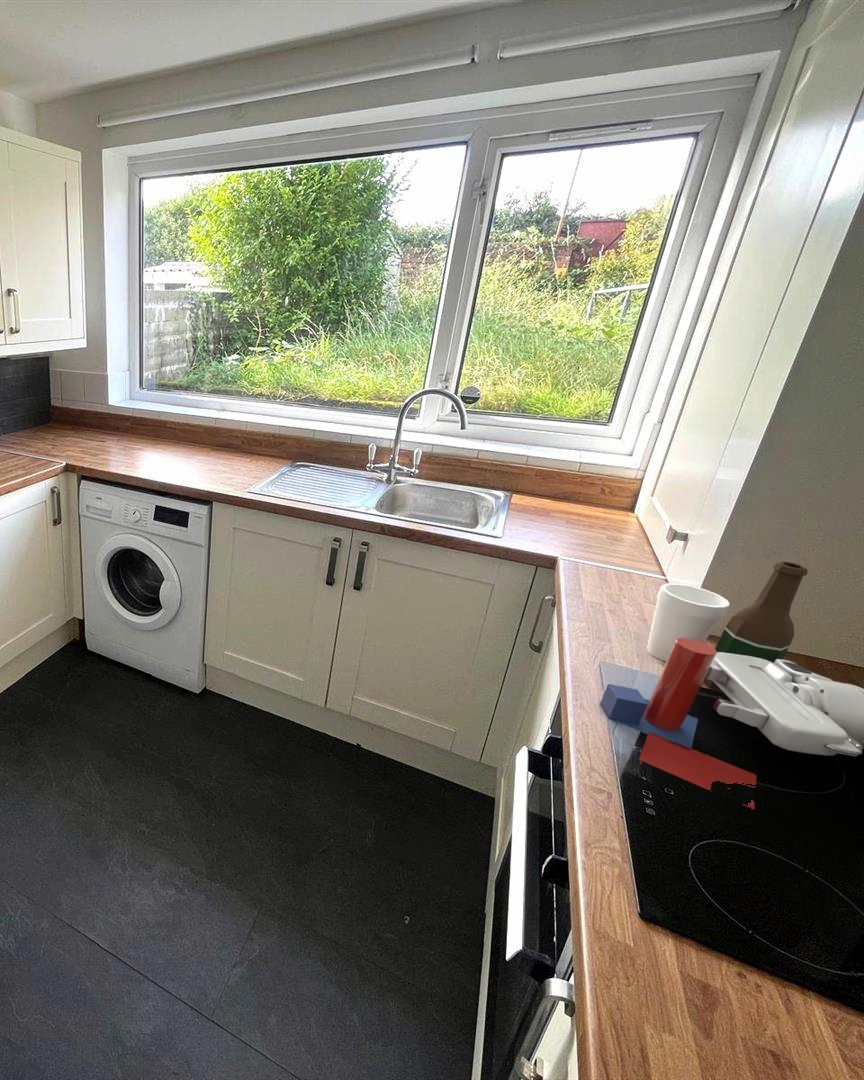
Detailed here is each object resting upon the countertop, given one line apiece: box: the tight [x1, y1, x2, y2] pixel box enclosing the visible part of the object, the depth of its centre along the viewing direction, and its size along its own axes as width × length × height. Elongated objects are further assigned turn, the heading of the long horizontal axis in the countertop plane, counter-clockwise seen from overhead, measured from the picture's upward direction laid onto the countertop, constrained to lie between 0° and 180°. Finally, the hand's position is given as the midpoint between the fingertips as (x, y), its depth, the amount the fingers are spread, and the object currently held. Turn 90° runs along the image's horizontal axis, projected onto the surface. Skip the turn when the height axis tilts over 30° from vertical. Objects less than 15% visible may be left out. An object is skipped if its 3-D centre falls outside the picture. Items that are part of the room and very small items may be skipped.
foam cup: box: [646, 582, 731, 663], centre depth 108 cm, size 10×9×13 cm
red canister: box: [643, 638, 717, 731], centre depth 89 cm, size 5×5×14 cm
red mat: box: [638, 732, 757, 810], centre depth 83 cm, size 12×9×1 cm
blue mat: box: [610, 698, 699, 751], centre depth 92 cm, size 10×11×1 cm
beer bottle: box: [703, 561, 808, 698], centre depth 96 cm, size 8×8×24 cm
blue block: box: [599, 683, 648, 725], centre depth 92 cm, size 4×4×4 cm
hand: (700, 687), depth 88 cm, fingers open, 8 cm apart
